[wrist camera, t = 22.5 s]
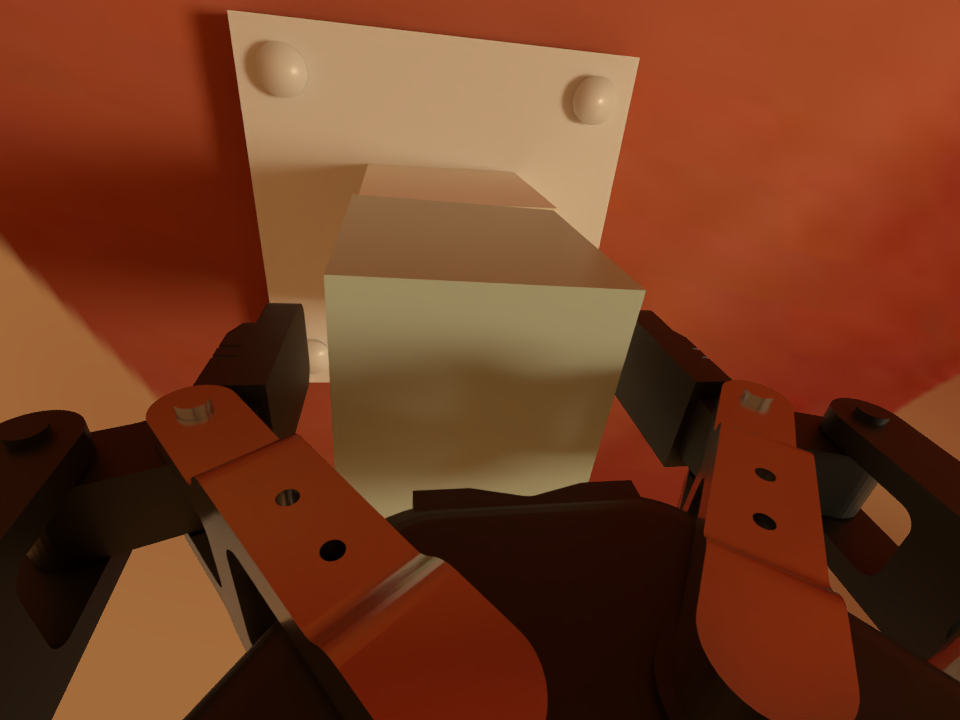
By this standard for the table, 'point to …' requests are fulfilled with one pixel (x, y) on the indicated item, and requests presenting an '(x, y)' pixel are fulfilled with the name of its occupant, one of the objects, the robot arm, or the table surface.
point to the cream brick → (452, 186)
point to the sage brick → (470, 348)
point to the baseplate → (410, 130)
